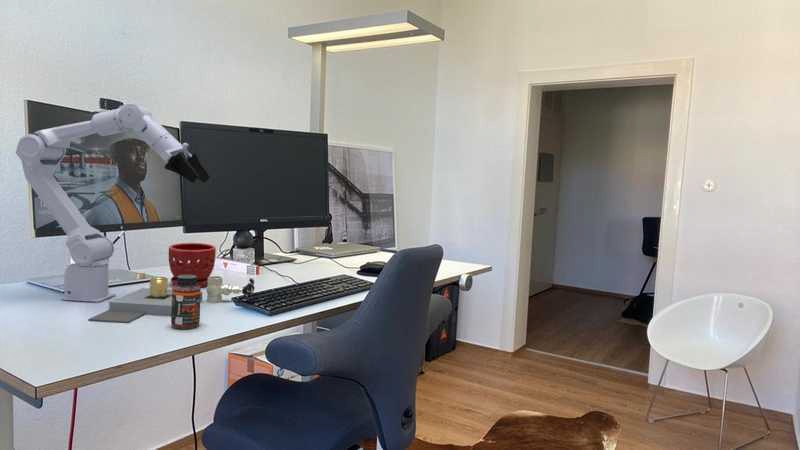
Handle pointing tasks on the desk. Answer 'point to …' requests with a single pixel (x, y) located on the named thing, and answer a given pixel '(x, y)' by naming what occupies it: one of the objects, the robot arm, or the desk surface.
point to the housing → (143, 303)
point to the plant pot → (192, 261)
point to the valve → (225, 289)
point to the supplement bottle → (185, 302)
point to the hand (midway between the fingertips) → (202, 179)
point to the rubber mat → (116, 316)
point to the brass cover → (158, 288)
